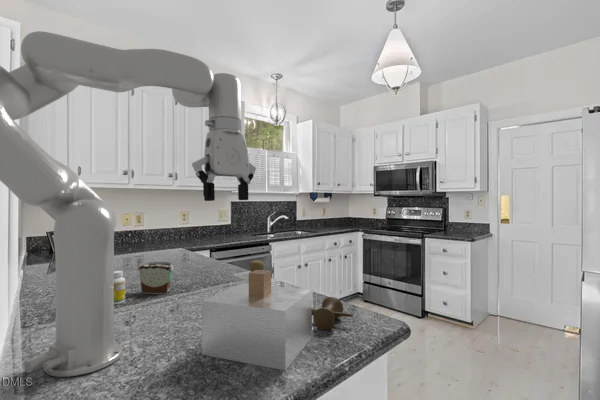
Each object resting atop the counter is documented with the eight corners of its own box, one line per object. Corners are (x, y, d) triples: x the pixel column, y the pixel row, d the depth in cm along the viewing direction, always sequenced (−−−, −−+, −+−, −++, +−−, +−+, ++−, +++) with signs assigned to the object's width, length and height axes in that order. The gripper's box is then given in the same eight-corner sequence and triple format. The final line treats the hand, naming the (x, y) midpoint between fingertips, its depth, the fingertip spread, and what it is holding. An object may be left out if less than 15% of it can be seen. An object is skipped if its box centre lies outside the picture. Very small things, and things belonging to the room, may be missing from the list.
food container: (179, 289, 116) (180, 261, 117) (171, 294, 110) (171, 265, 110) (147, 288, 118) (147, 261, 118) (137, 293, 112) (137, 264, 112)
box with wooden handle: (285, 370, 59) (285, 283, 60) (201, 354, 66) (202, 276, 66) (311, 337, 74) (311, 268, 74) (241, 327, 80) (241, 263, 81)
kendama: (286, 313, 92) (356, 320, 86) (273, 326, 83) (349, 335, 76) (286, 293, 92) (355, 297, 86) (272, 303, 83) (348, 310, 76)
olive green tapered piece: (244, 293, 111) (245, 261, 111) (252, 289, 117) (252, 258, 117) (261, 295, 109) (261, 262, 109) (268, 290, 115) (268, 259, 115)
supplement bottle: (128, 301, 102) (129, 271, 102) (111, 306, 97) (112, 274, 97) (118, 299, 105) (119, 269, 105) (101, 303, 100) (102, 272, 100)
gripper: (201, 119, 68) (203, 200, 67) (263, 131, 81) (264, 199, 80) (183, 125, 72) (185, 201, 72) (244, 135, 85) (245, 200, 85)
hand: (227, 200), depth 76 cm, fingers open, 9 cm apart
